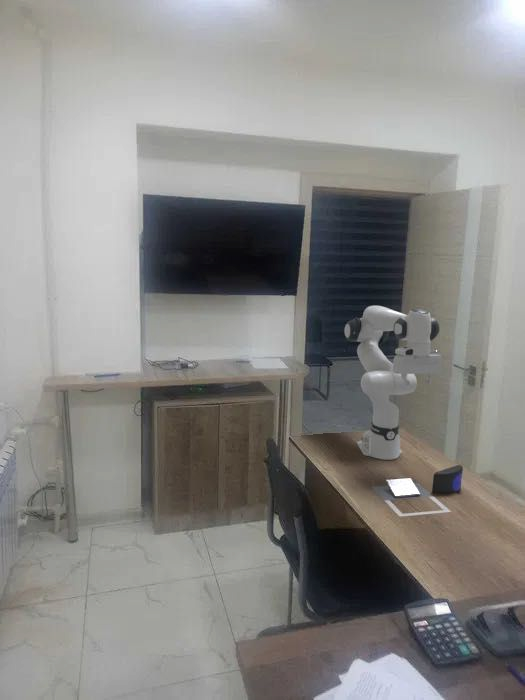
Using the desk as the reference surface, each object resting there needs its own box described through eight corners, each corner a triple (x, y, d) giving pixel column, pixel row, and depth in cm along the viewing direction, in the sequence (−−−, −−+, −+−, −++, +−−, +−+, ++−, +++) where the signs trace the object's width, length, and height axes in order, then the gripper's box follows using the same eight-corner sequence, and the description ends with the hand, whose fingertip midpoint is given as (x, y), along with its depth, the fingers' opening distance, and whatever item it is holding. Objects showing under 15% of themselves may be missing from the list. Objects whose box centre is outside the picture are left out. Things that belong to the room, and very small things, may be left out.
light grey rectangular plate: (386, 481, 193) (386, 479, 192) (409, 480, 195) (410, 478, 195) (395, 498, 186) (396, 496, 185) (419, 496, 188) (420, 494, 187)
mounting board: (370, 489, 194) (371, 486, 194) (417, 486, 199) (418, 483, 199) (399, 519, 173) (399, 516, 173) (451, 514, 177) (451, 511, 177)
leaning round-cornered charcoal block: (440, 500, 188) (443, 476, 186) (430, 494, 192) (432, 471, 190) (467, 490, 197) (469, 467, 195) (457, 485, 201) (459, 463, 199)
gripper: (437, 349, 205) (435, 382, 206) (391, 349, 200) (390, 384, 201) (446, 350, 199) (444, 385, 200) (399, 351, 194) (398, 386, 195)
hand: (417, 384), depth 201 cm, fingers open, 8 cm apart
